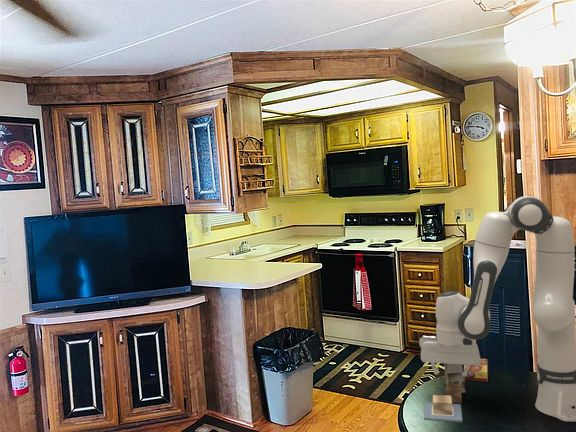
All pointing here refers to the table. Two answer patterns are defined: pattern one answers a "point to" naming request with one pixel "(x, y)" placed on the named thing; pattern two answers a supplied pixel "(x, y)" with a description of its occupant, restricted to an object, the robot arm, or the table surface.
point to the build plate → (454, 417)
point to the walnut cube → (454, 392)
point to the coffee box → (455, 375)
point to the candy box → (478, 371)
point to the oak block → (442, 404)
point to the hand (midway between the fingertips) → (450, 375)
